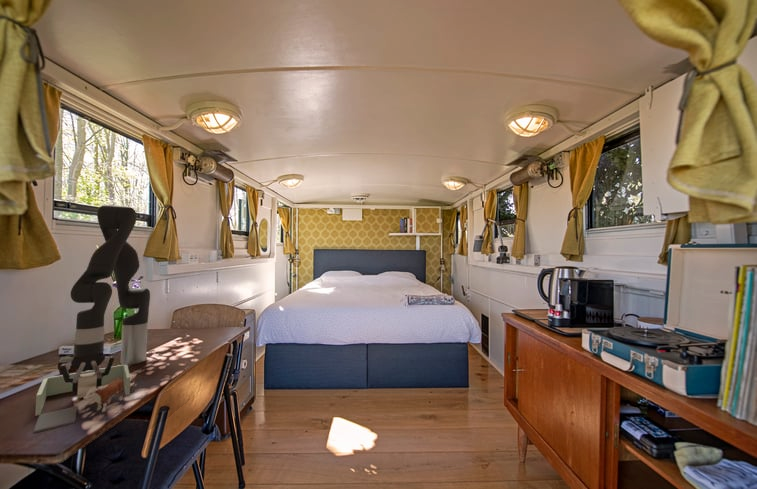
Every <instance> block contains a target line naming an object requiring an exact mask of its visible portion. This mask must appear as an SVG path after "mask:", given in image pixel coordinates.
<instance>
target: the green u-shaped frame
mask: <svg viewBox="0 0 757 489" xmlns="http://www.w3.org/2000/svg"><path fill="white" fill-rule="evenodd" d="M99 368H100V367H99ZM105 368H106V367H102V368H100V371H101V372H104V371H105ZM93 372H95V371H94V370H91V371H90V370H89V371H85V372H82V373H81V375H82V374H87V373H93ZM75 374H76V373H71V374H69V375H70V377H74V376H75ZM130 374H131V373H130V370H129V367H128V364H119V365H114V366H113V365H112V366H111V369H110V372H109V374H108V375H105V376H103V377H102V383H101V386H104V385H107V384H108V383H110V382H112V381H114V380H116V379H117V378H120V379H121V380H123V389H124V393H125V396H126V397H127V396H130V392H131V375H130ZM72 387H73V384H72V383H71V382H68V383H66V382H65V380H64V378H63V375H60V374H59V375H56V376H49V377H44V378H43V380H42V382H41V384H40V386H39V389H38V390H37V393H36V395H35V413H34V416H35V417H36V416H39V415H40V414H42V412H43V411H42V410H43V407H44V406H45V402H46V400H47V397H49V396H54V395H59V394H65V393H70V392H71V393H72Z"/></svg>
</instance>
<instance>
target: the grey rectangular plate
mask: <svg viewBox="0 0 757 489" xmlns="http://www.w3.org/2000/svg"><path fill="white" fill-rule="evenodd" d="M77 410H78V405H77V406H76V405H75V406H71V407H67V408H62V409H57V410H54V411H50V412H45V413H41V414H40V415H38V418H37V421H36V423H35V426H34V429H33V434H34V433H39V432H43V431H48V430H52V429H56V428H60V427H63V426H68V425H71V424H75V423H76V419H77Z"/></svg>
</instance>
